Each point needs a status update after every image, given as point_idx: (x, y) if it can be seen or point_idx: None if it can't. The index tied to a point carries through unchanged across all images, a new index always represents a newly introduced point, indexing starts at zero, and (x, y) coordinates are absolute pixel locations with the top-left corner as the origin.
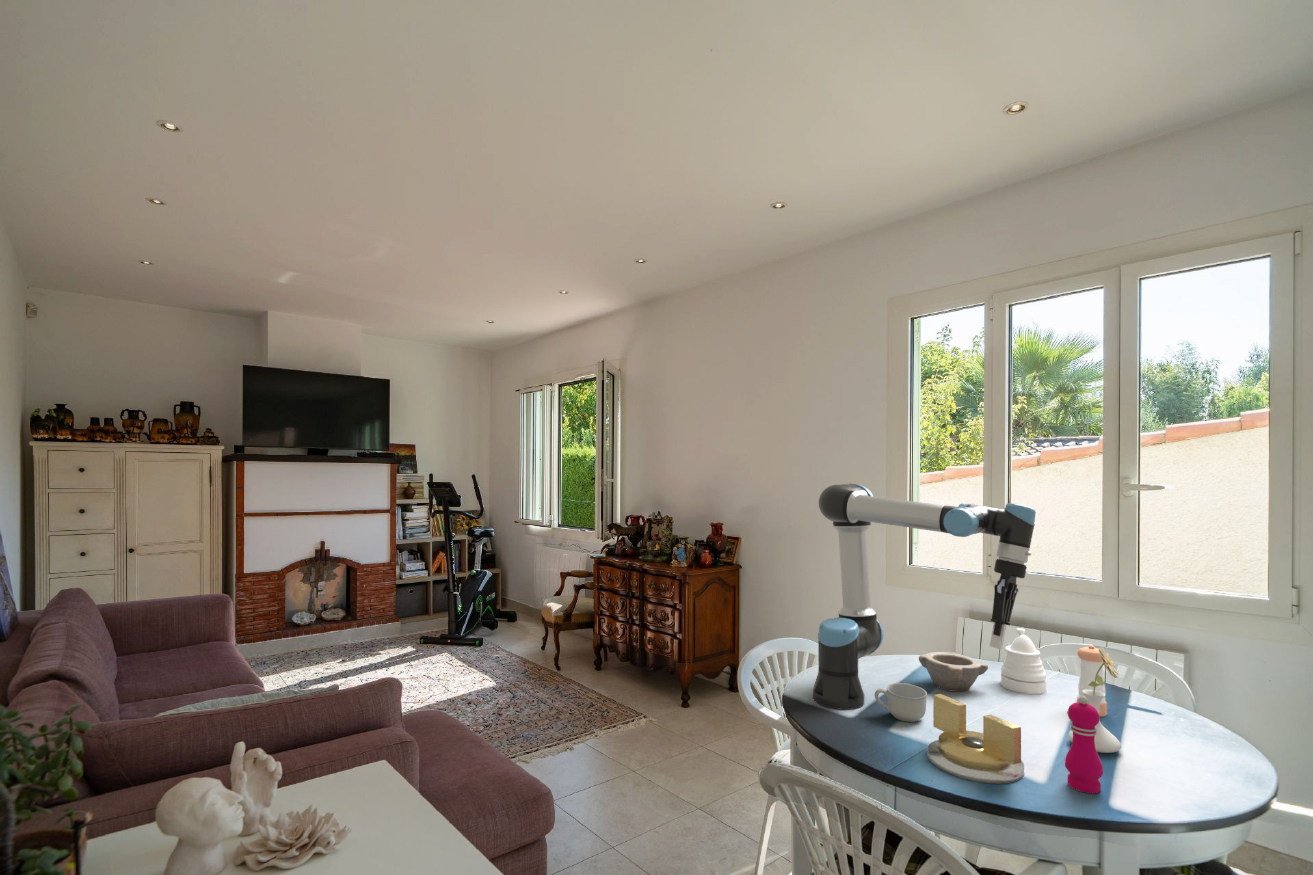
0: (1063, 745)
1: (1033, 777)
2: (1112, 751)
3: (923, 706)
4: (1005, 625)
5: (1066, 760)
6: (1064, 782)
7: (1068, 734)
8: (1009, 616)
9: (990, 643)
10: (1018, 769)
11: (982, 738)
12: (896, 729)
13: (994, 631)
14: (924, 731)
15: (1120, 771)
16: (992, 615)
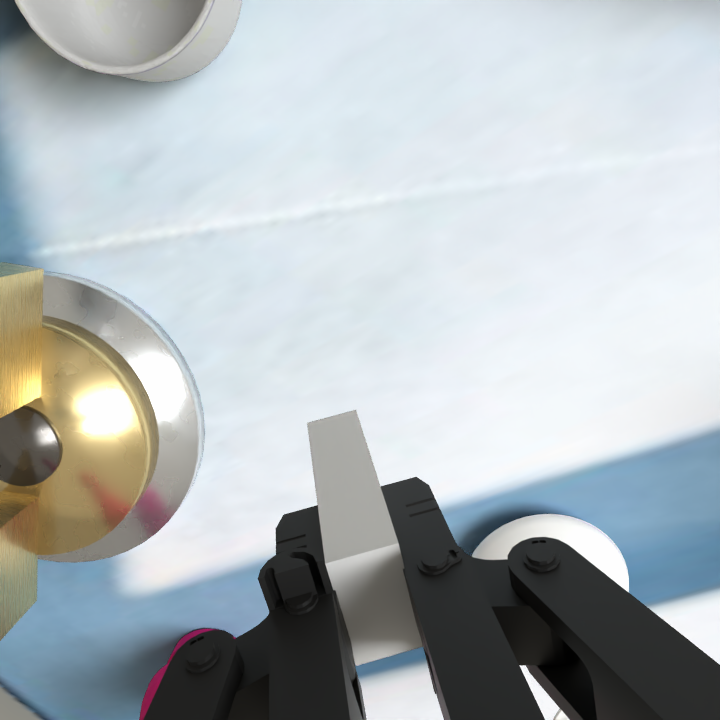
0: (465, 511)
1: (137, 565)
2: None
3: (152, 78)
4: (391, 651)
5: (153, 685)
6: (189, 623)
7: (517, 523)
8: (561, 707)
9: (310, 435)
10: (93, 549)
11: (90, 434)
12: (22, 73)
13: (280, 542)
14: (115, 154)
15: (410, 679)
16: (156, 695)
